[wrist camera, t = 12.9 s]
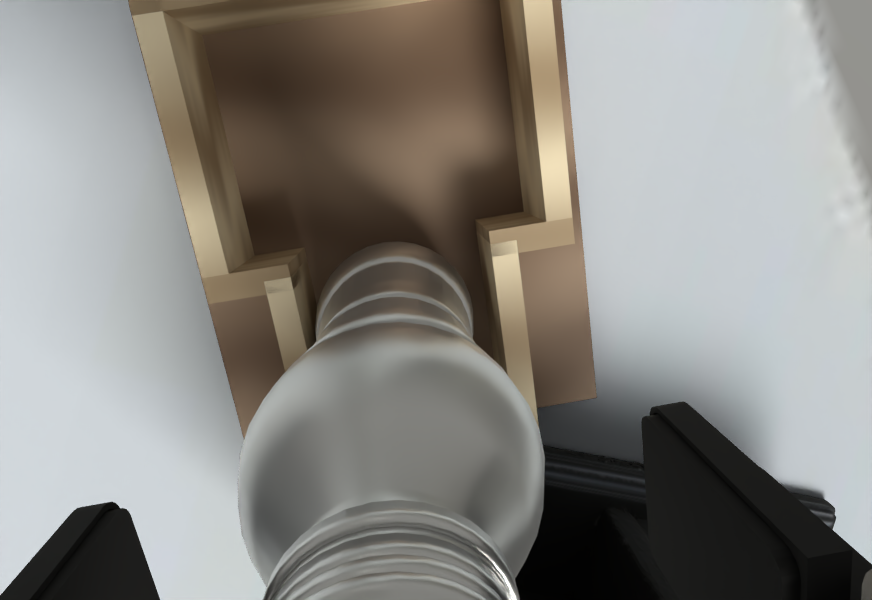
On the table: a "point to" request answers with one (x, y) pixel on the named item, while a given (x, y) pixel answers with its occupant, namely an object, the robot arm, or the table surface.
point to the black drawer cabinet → (600, 533)
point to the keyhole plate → (375, 168)
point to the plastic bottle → (392, 447)
